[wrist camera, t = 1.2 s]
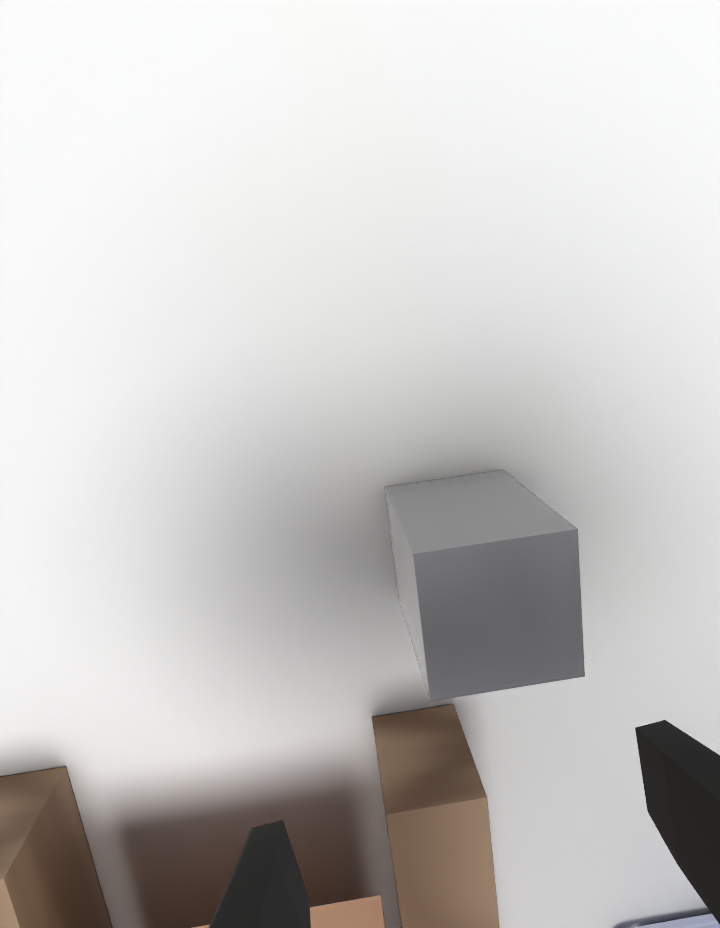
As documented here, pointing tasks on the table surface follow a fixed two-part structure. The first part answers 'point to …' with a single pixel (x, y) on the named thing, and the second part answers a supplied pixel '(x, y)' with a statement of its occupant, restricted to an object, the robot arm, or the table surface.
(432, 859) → the frame
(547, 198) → the table surface
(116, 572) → the table surface
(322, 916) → the trapdoor
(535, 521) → the stone
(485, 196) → the table surface
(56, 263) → the table surface
